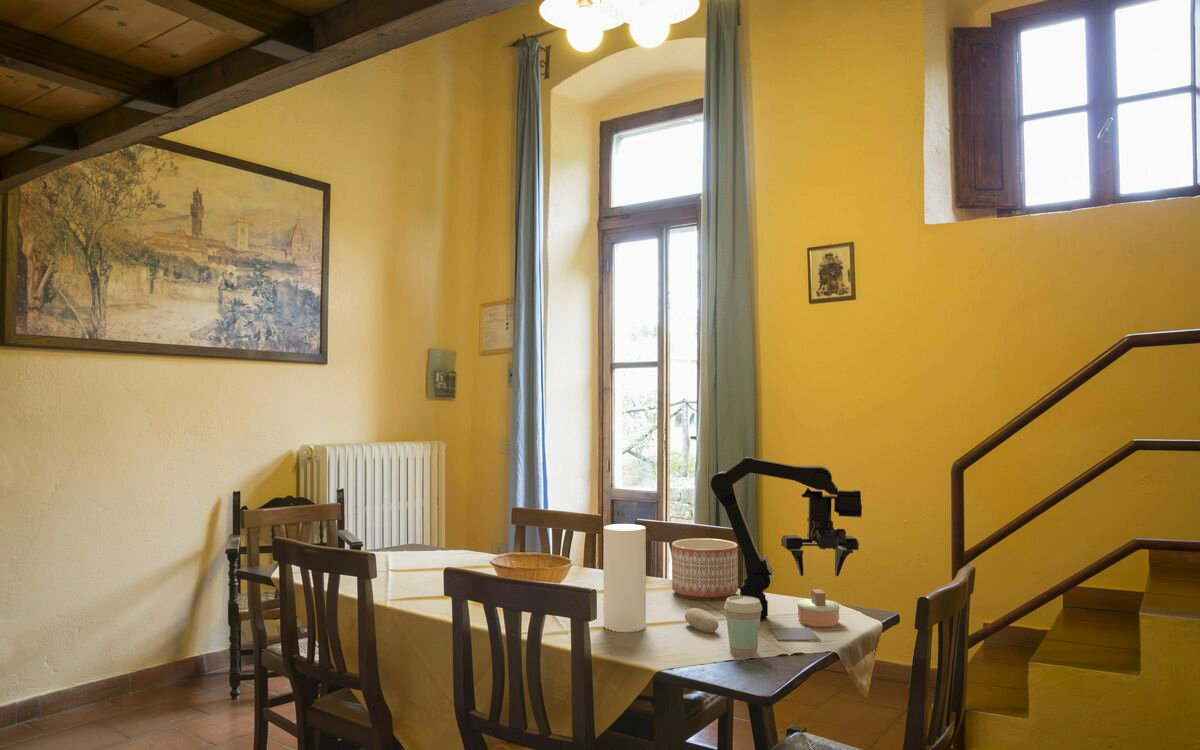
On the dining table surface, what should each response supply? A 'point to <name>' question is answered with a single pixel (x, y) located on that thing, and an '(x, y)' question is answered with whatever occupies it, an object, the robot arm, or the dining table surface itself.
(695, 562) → the planter
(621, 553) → the tall pillar cylinder
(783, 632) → the mat
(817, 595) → the lid
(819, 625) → the bowl
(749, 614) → the coffee cup
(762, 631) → the dining table surface
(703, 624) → the stone
